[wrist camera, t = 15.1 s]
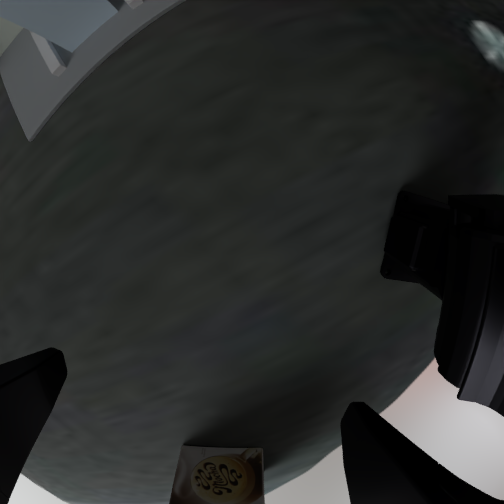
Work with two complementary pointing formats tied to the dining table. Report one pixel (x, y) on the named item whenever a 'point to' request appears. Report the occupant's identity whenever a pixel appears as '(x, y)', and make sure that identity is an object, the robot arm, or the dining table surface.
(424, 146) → the dining table surface
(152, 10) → the white open shelf
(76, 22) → the tall gray box
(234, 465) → the coffee box
